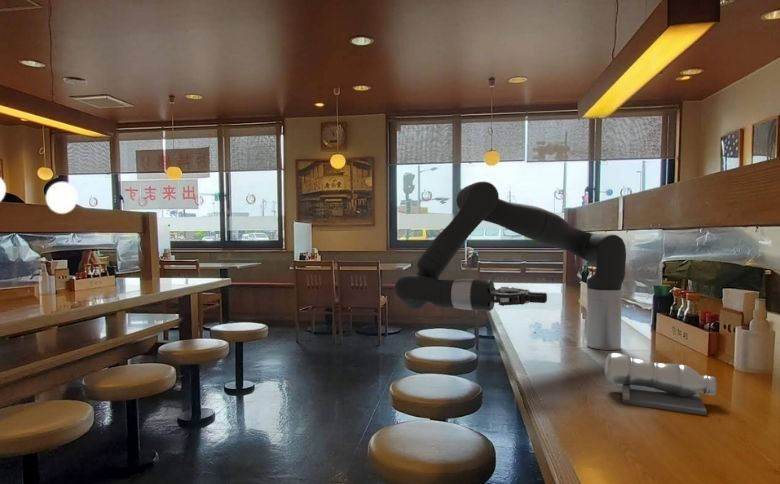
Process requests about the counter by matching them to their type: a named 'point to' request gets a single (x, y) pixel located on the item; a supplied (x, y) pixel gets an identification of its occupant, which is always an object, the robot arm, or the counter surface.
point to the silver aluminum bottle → (657, 376)
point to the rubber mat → (662, 399)
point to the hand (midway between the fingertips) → (546, 297)
